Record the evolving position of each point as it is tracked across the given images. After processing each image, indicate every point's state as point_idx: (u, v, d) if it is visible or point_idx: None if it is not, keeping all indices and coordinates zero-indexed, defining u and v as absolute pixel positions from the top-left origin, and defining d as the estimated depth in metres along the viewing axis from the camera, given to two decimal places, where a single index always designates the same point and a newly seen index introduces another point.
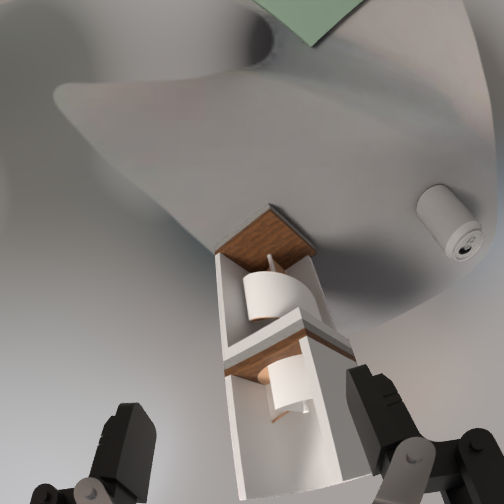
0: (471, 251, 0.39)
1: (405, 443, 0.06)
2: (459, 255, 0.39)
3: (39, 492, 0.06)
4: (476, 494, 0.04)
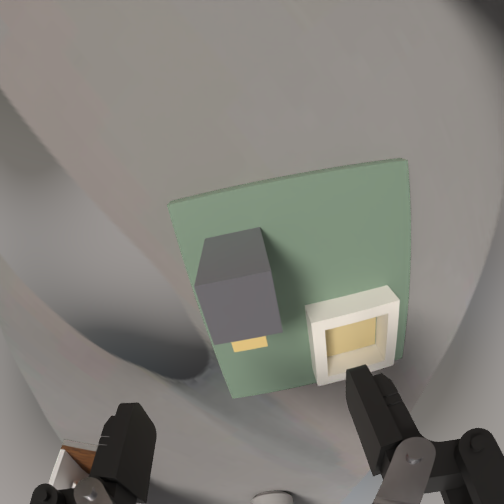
0: None
1: (405, 443, 0.06)
2: None
3: (39, 492, 0.06)
4: (476, 494, 0.04)
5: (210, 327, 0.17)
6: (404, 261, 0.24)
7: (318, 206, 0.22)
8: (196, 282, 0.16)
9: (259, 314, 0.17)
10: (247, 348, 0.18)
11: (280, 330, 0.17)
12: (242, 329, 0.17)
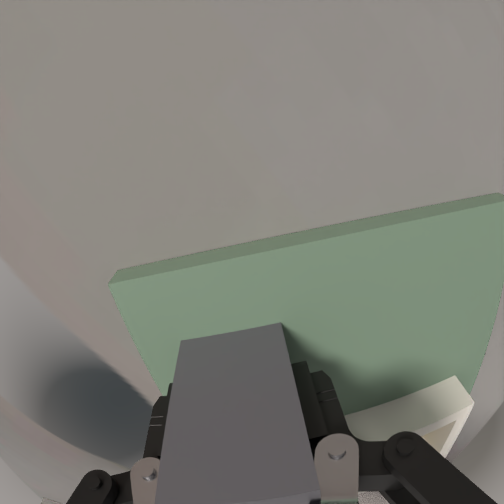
0: None
1: (328, 438, 0.07)
2: None
3: (91, 478, 0.07)
4: (420, 495, 0.05)
5: None
6: (482, 343, 0.14)
7: (385, 282, 0.11)
8: (159, 491, 0.06)
9: None
10: None
11: None
12: None
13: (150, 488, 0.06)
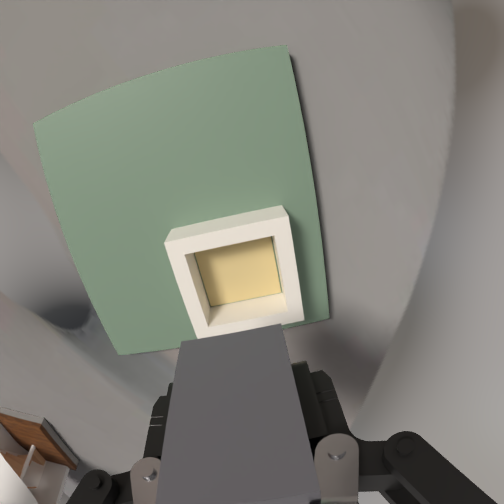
0: None
1: (328, 438, 0.07)
2: None
3: (91, 478, 0.07)
4: (420, 495, 0.05)
5: None
6: (302, 172, 0.19)
7: (172, 103, 0.17)
8: (159, 492, 0.06)
9: None
10: None
11: None
12: None
13: (150, 489, 0.06)
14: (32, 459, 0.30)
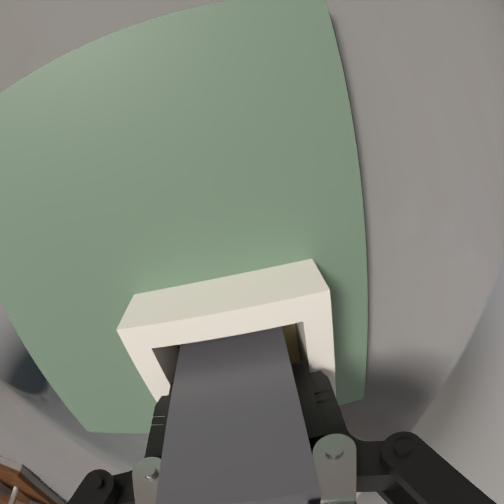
0: None
1: (326, 438, 0.07)
2: None
3: (93, 478, 0.07)
4: (418, 495, 0.05)
5: None
6: (348, 205, 0.11)
7: (125, 85, 0.09)
8: (160, 491, 0.06)
9: None
10: None
11: None
12: None
13: (152, 488, 0.06)
14: (16, 499, 0.22)
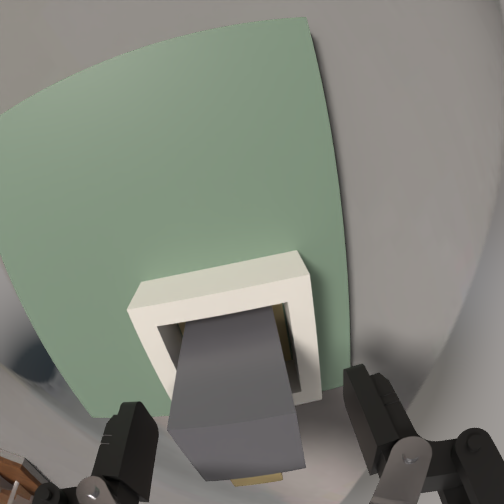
0: None
1: (401, 442, 0.07)
2: None
3: (41, 491, 0.06)
4: (473, 494, 0.04)
5: (198, 467, 0.09)
6: (327, 203, 0.13)
7: (136, 100, 0.11)
8: (170, 420, 0.09)
9: (272, 456, 0.09)
10: (253, 483, 0.10)
11: (302, 466, 0.10)
12: (246, 469, 0.09)
13: None
14: (17, 493, 0.23)
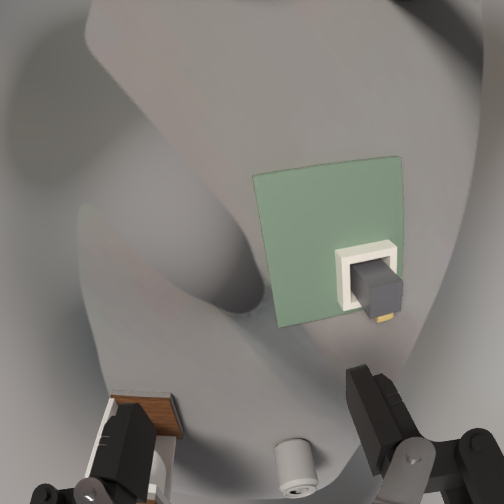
0: (300, 494, 0.45)
1: (405, 443, 0.06)
2: (289, 493, 0.45)
3: (39, 492, 0.06)
4: (476, 494, 0.04)
5: (371, 309, 0.32)
6: (399, 223, 0.36)
7: (345, 183, 0.34)
8: (370, 287, 0.32)
9: (393, 301, 0.32)
10: (384, 320, 0.33)
11: (400, 309, 0.33)
12: (384, 309, 0.32)
13: None
14: None
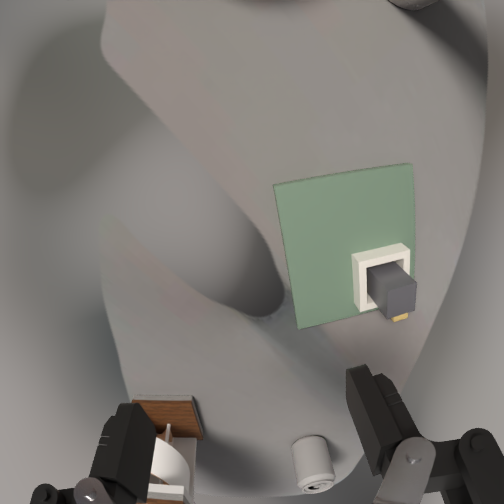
0: (318, 489, 0.47)
1: (405, 443, 0.06)
2: (307, 489, 0.46)
3: (39, 492, 0.06)
4: (476, 494, 0.04)
5: (388, 310, 0.34)
6: (411, 227, 0.38)
7: (361, 190, 0.35)
8: (386, 289, 0.33)
9: (408, 302, 0.33)
10: (399, 319, 0.34)
11: (414, 309, 0.34)
12: (400, 310, 0.34)
13: None
14: None
